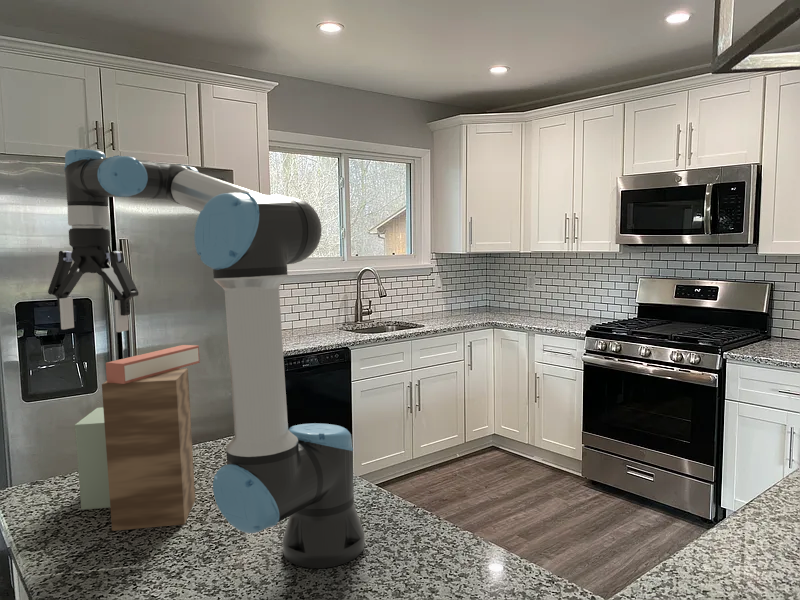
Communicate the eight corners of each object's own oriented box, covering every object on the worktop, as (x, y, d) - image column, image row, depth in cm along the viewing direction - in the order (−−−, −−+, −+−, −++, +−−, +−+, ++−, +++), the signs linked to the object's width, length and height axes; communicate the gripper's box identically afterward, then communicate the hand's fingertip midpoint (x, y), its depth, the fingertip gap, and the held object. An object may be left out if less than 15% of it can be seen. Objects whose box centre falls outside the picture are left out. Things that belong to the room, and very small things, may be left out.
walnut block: (184, 524, 122) (175, 380, 120) (112, 530, 120) (101, 384, 118) (195, 500, 134) (187, 368, 132) (129, 505, 132) (120, 371, 129)
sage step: (139, 504, 132) (133, 420, 131) (81, 509, 131) (74, 424, 129) (154, 480, 146) (150, 404, 144) (102, 484, 144) (97, 407, 143)
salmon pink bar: (183, 361, 139) (182, 344, 139) (199, 362, 138) (198, 345, 137) (106, 382, 119) (105, 362, 119) (124, 383, 117) (123, 363, 117)
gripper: (153, 227, 123) (157, 329, 125) (54, 227, 129) (59, 324, 132) (128, 227, 116) (133, 335, 118) (24, 227, 122) (31, 330, 125)
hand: (94, 330), depth 125 cm, fingers open, 13 cm apart
